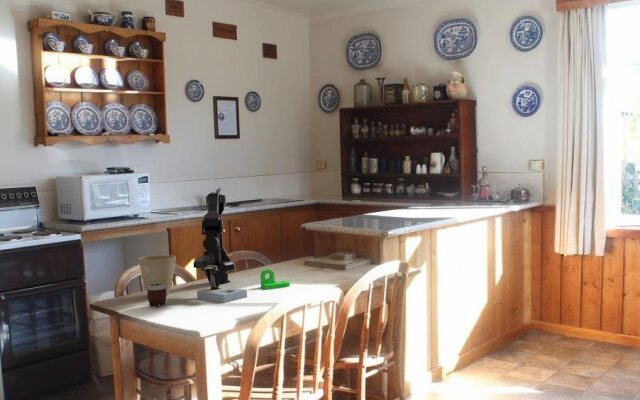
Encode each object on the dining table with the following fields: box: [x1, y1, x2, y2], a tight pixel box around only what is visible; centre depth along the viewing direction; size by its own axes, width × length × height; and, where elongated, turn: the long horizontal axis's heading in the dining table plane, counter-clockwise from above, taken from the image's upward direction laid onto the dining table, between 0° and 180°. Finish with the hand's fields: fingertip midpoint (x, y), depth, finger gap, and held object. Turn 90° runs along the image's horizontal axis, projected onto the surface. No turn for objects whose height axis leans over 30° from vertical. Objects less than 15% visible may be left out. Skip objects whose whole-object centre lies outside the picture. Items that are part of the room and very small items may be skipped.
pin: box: [209, 268, 219, 290], centre depth 265 cm, size 3×3×10 cm
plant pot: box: [138, 254, 177, 297], centre depth 270 cm, size 15×15×16 cm
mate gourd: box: [144, 266, 167, 308], centre depth 252 cm, size 8×8×15 cm
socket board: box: [196, 285, 248, 304], centre depth 262 cm, size 16×12×3 cm
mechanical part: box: [260, 268, 291, 291], centre depth 281 cm, size 12×6×8 cm, turn 116°
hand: (214, 286), depth 265 cm, fingers closed on pin, 3 cm apart
